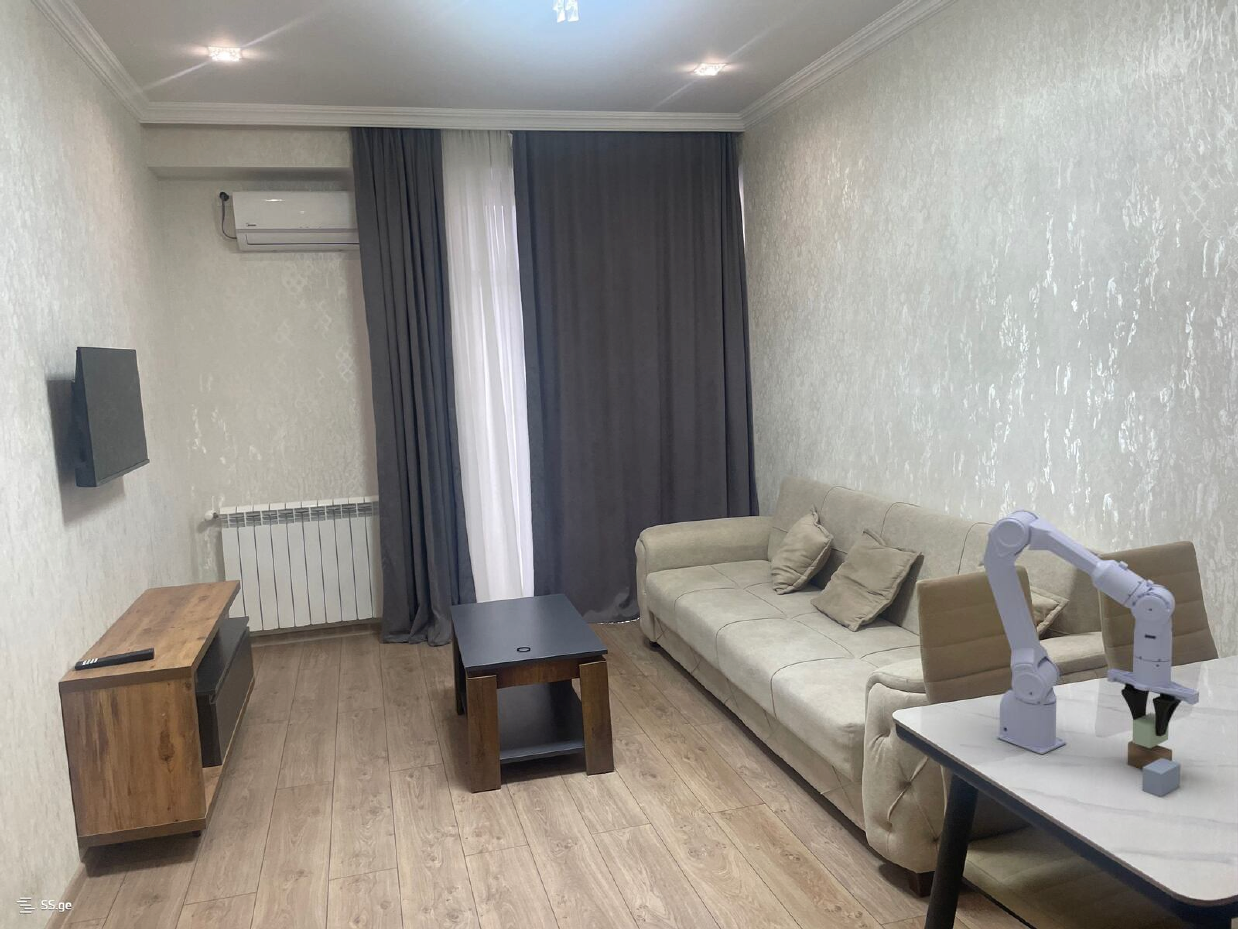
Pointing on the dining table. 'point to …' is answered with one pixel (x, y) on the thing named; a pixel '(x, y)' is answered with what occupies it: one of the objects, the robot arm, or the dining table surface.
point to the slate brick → (1161, 777)
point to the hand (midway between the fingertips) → (1150, 731)
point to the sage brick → (1147, 731)
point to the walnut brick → (1146, 754)
